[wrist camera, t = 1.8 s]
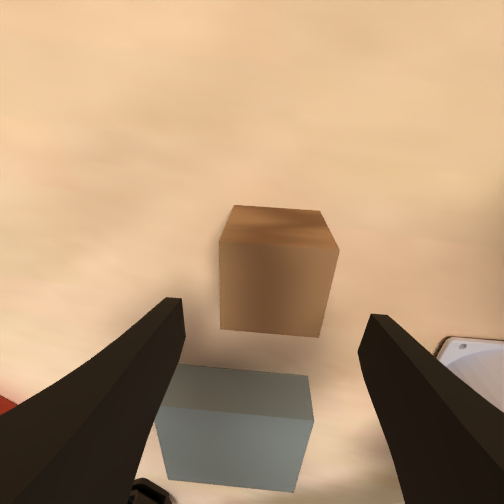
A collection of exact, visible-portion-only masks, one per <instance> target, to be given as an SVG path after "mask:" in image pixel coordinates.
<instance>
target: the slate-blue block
mask: <svg viewBox="0 0 504 504" xmlns="http://www.w3.org/2000/svg"><path fill="white" fill-rule="evenodd" d="M154 421H155V425H156V429H157V434H158V438H159V442H160V447H161V451H162V455H163V459H164V464H165V468H166V472H167V476H168V480H176V481H186V482H195V483H205V484H214V485H224V486H233V487H243V488H252V489H262V490H272V491H281V492H291V493H294V489H295V486H296V482H297V479H298V475H299V472H300V468H301V465H302V461H303V458H304V454H305V451H306V447H307V444H308V440H309V437H310V433H311V430H312V426H313V423H314V416H313V409H312V402H311V395H310V388H309V381H308V376H303V375H292V374H281V373H270V372H259V371H248V370H237V369H226V368H215V367H204V366H193V365H183V364H178V365H177V367H176V369H175V372H174V374H173V377H172V379H171V382H170V384H169V386H168V389H167V391H166V394H165V396H164V398H163V401H162V403H161V406H160V408H159V410H158V413H157V415H156V418H155V420H154Z"/></svg>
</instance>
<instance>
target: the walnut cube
mask: <svg viewBox="0 0 504 504" xmlns="http://www.w3.org/2000/svg"><path fill="white" fill-rule="evenodd" d="M339 251H340V250H339V248H338V246H337V244H336V242H335V240H334V238H333V236H332V234H331V232H330V230H329V228H328V226H327V224H326V222H325V220H324V218H323V216H322V214H321V212H320V211H313V210H299V209H284V208H270V207H255V206H241V205H234V207H233V209H232V212H231V214H230V216H229V219H228V221H227V224H226V226H225V228H224V231H223V233H222V236H221V238H220V240H219V268H220V329H224V330H235V331H247V332H258V333H270V334H281V335H293V336H304V337H316V338H319V335H320V330H321V326H322V322H323V318H324V314H325V309H326V305H327V301H328V297H329V293H330V289H331V284H332V280H333V276H334V272H335V268H336V263H337V259H338V255H339Z"/></svg>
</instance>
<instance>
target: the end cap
mask: <svg viewBox="0 0 504 504" xmlns="http://www.w3.org/2000/svg"><path fill="white" fill-rule="evenodd" d="M127 504H172V502H171V501H170V498H169V495H168V493H167V492H166V490H164V489H163V488H161V487H159V486H158V485H156V484H154V483H153V482H151V481H149V480H148V479H146V478H140V479H136V480H134V482H133V486H132V489H131V492H130V496H129V499H128V502H127Z"/></svg>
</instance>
